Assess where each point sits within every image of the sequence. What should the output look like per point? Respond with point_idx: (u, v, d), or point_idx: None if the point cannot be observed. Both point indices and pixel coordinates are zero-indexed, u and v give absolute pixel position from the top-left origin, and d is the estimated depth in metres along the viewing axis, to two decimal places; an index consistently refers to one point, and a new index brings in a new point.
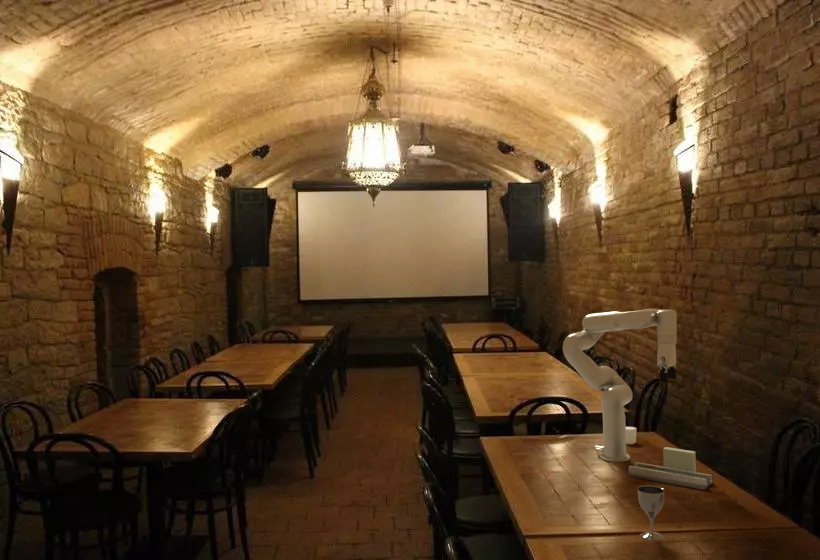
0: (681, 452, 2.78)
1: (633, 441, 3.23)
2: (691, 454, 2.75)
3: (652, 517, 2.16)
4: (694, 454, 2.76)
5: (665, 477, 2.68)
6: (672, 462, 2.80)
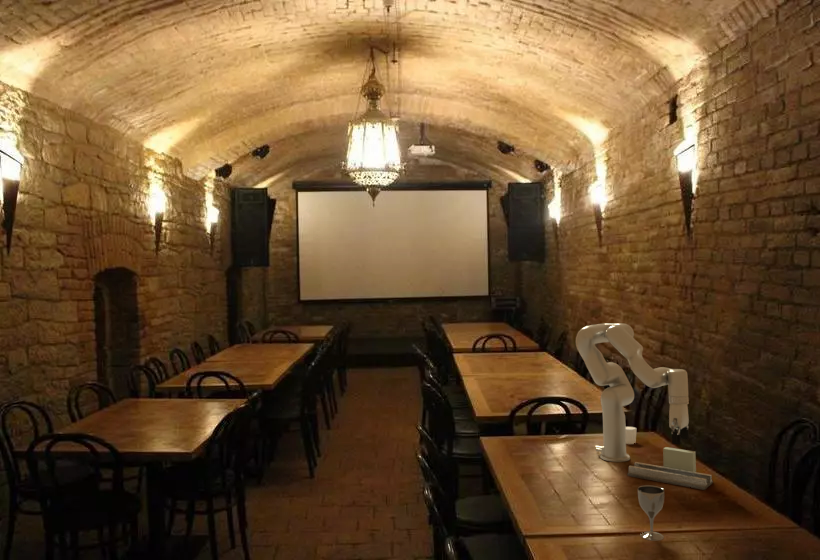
0: (681, 452, 2.78)
1: (633, 441, 3.23)
2: (691, 454, 2.75)
3: (652, 517, 2.16)
4: (694, 454, 2.76)
5: (665, 477, 2.68)
6: (672, 462, 2.80)
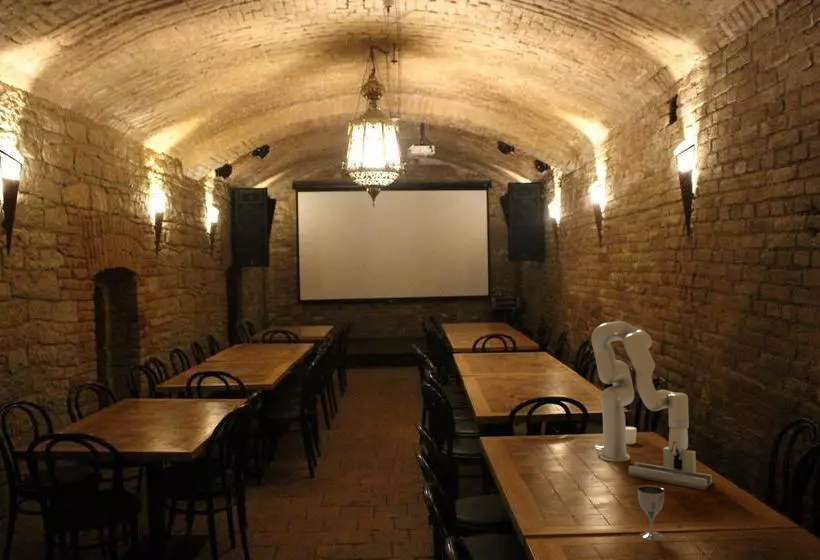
0: (681, 452, 2.78)
1: (633, 441, 3.23)
2: (691, 454, 2.75)
3: (652, 517, 2.16)
4: (694, 454, 2.76)
5: (665, 477, 2.68)
6: (672, 461, 2.80)
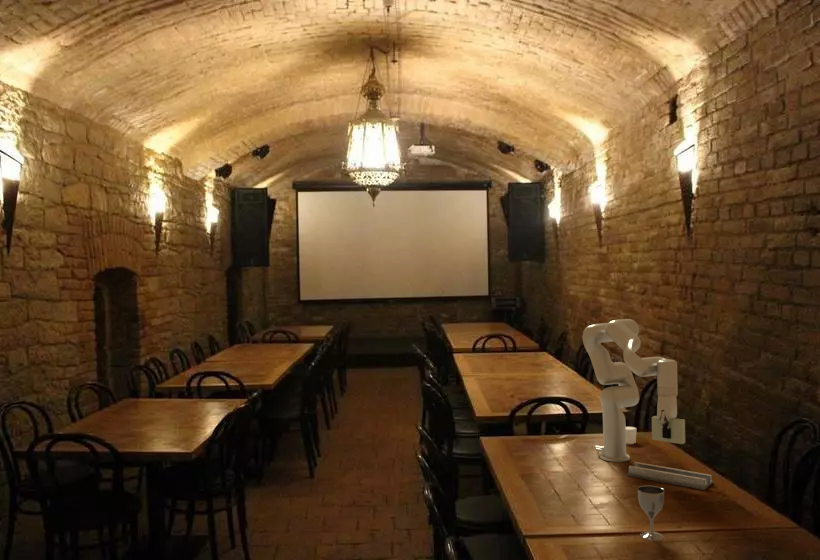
0: (670, 420, 2.68)
1: (633, 441, 3.23)
2: (680, 422, 2.66)
3: (652, 517, 2.16)
4: (683, 422, 2.66)
5: (665, 477, 2.68)
6: (661, 431, 2.71)
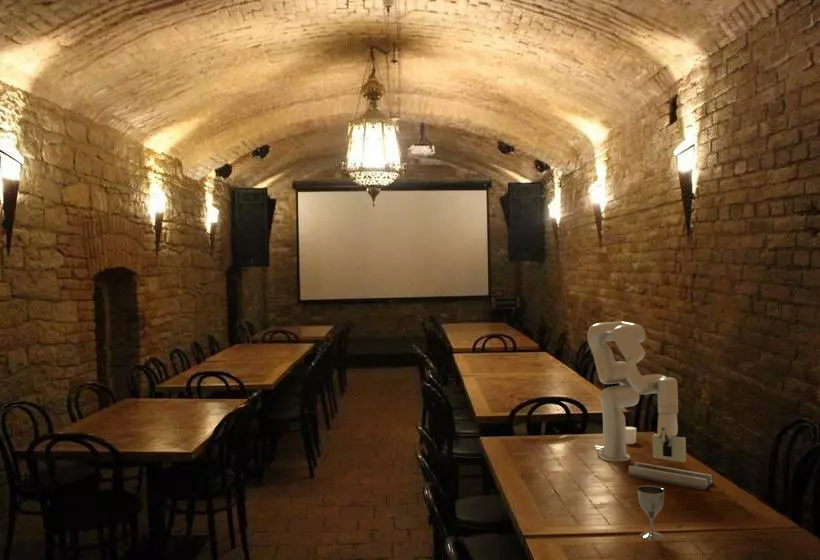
0: (671, 438, 2.68)
1: (633, 441, 3.23)
2: (681, 440, 2.66)
3: (652, 517, 2.16)
4: (684, 440, 2.66)
5: (665, 477, 2.68)
6: (662, 449, 2.71)
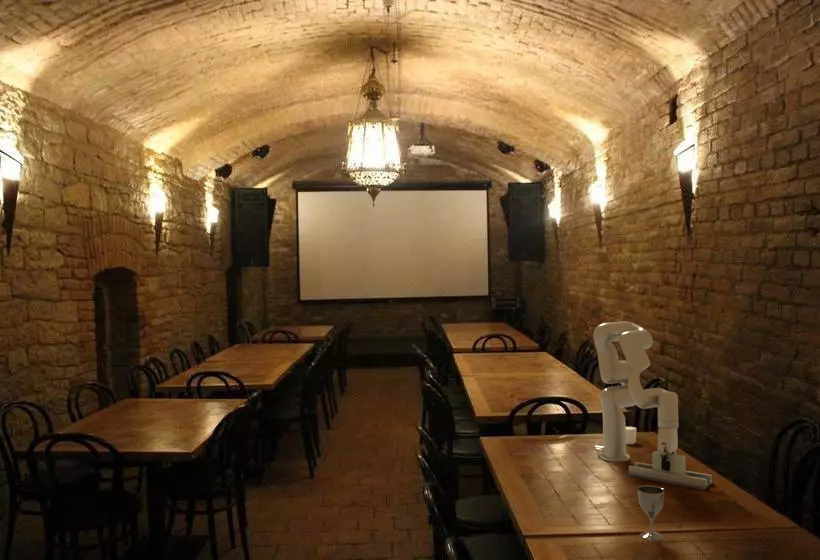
0: (670, 456, 2.69)
1: (633, 441, 3.23)
2: (681, 458, 2.66)
3: (652, 517, 2.16)
4: (684, 458, 2.67)
5: (665, 477, 2.68)
6: None
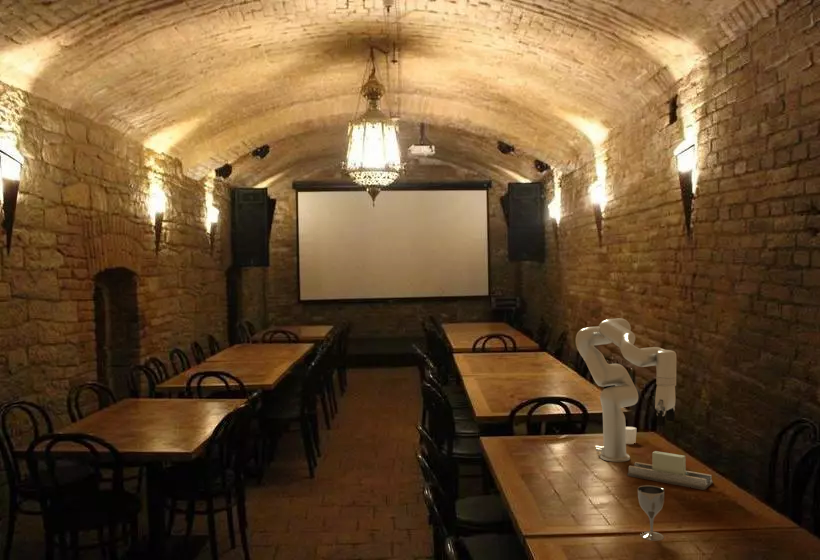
0: (670, 456, 2.69)
1: (633, 441, 3.23)
2: (681, 458, 2.66)
3: (652, 517, 2.16)
4: (684, 458, 2.67)
5: (665, 477, 2.68)
6: (661, 466, 2.71)
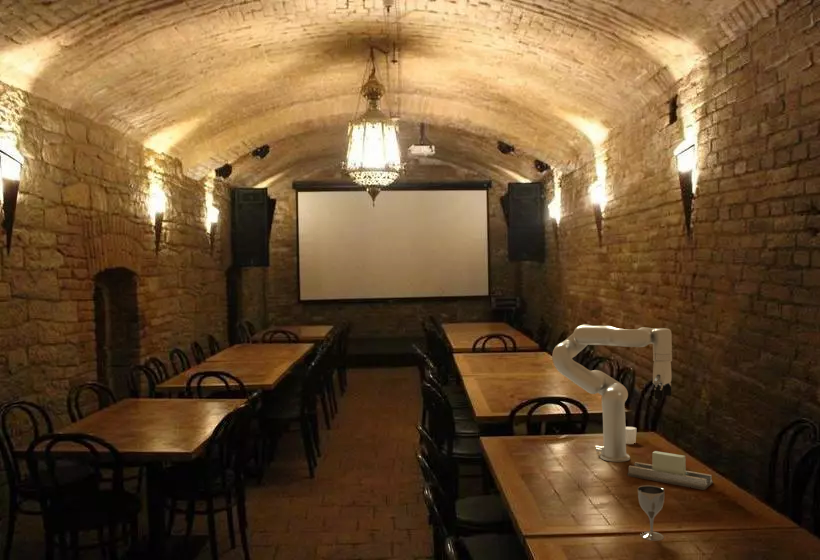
0: (670, 456, 2.69)
1: (633, 441, 3.23)
2: (681, 458, 2.66)
3: (652, 517, 2.16)
4: (684, 458, 2.67)
5: (665, 477, 2.68)
6: (661, 466, 2.71)
